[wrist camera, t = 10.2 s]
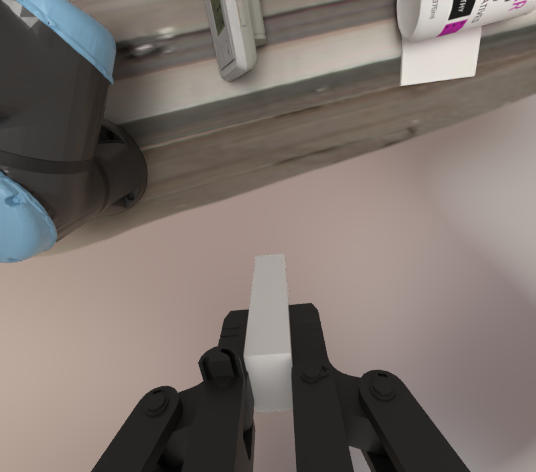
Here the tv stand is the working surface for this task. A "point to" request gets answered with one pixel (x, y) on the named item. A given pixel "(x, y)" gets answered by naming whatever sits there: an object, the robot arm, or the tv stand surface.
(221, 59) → the digital clock
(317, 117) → the tv stand surface
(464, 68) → the mat
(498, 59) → the tv stand surface
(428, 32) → the supplement can
